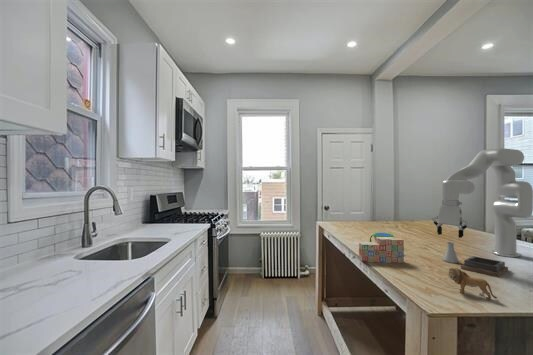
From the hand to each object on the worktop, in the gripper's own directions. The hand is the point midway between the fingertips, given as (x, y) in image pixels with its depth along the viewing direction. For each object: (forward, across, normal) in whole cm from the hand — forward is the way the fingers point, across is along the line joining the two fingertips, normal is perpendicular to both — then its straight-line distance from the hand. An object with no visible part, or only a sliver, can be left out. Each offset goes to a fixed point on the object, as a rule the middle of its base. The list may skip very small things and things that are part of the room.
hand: (449, 235), depth 145 cm
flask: (+14, 0, -1) cm, 14 cm away
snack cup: (+14, +33, +8) cm, 37 cm away
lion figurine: (+14, -22, +41) cm, 49 cm away
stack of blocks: (+15, +22, +28) cm, 39 cm away
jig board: (+13, -15, +1) cm, 20 cm away
